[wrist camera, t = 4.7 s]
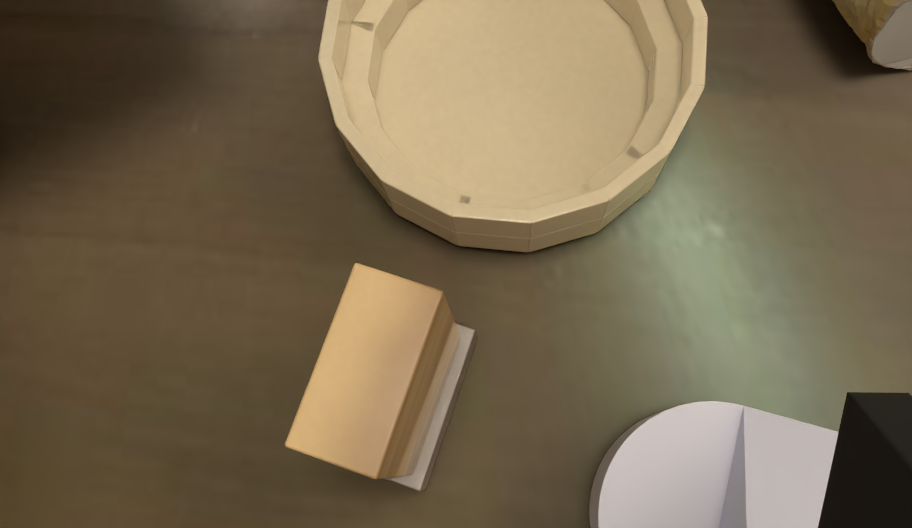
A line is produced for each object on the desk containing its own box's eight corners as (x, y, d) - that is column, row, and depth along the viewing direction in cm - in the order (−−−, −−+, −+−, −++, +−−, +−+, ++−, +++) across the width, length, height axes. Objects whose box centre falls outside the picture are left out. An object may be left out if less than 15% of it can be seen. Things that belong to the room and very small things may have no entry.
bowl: (282, 158, 38) (249, 113, 33) (446, -100, 41) (438, -176, 36) (584, 315, 35) (597, 291, 30) (737, 26, 38) (771, -39, 33)
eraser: (339, 458, 34) (261, 456, 23) (394, 308, 35) (345, 242, 25) (425, 490, 33) (385, 502, 23) (478, 336, 35) (464, 280, 24)
